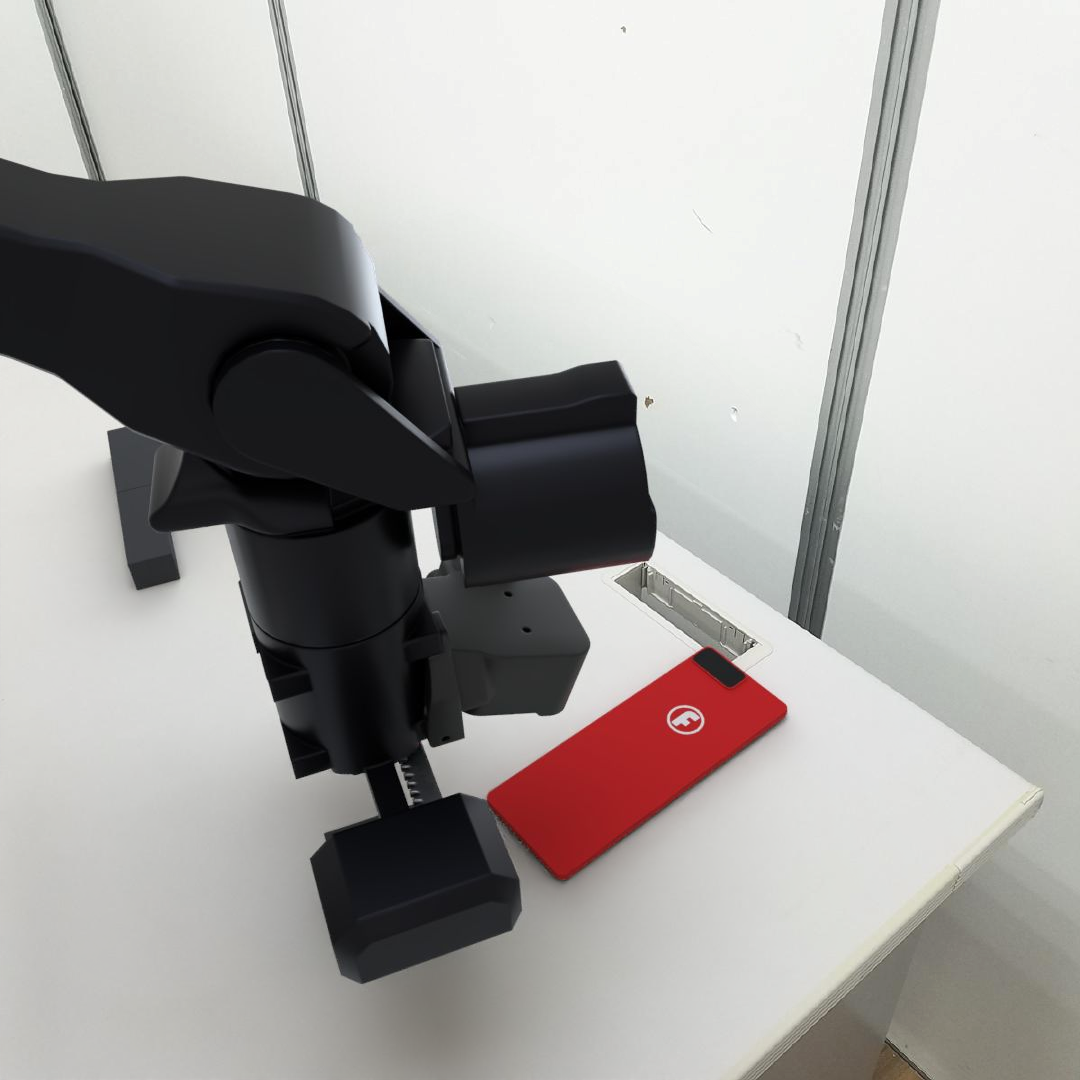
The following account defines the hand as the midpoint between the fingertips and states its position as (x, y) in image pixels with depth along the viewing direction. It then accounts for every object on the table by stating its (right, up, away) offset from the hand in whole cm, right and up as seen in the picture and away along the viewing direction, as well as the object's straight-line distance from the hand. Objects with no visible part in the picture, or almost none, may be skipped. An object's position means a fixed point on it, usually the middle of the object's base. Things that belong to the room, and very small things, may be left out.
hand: (390, 852), depth 48 cm
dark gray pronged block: (-14, +16, +24) cm, 32 cm away
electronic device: (+11, +2, +8) cm, 14 cm away
